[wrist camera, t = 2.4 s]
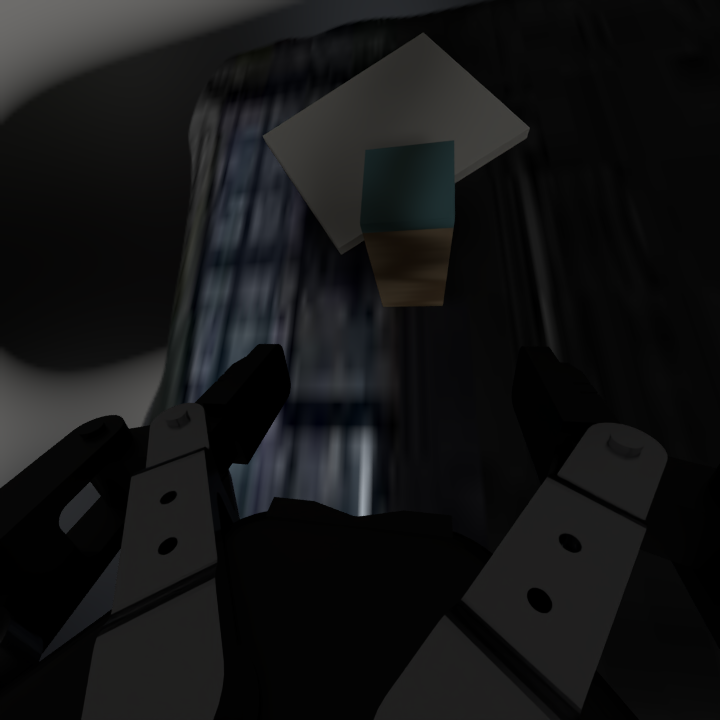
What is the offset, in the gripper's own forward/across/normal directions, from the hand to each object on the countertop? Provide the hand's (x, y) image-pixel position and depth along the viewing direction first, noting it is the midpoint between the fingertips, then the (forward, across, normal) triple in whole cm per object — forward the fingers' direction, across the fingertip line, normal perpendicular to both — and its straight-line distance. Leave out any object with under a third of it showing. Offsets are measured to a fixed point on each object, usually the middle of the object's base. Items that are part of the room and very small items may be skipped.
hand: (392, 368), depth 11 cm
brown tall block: (+19, 0, +2) cm, 19 cm away
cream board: (+30, +3, -8) cm, 31 cm away
